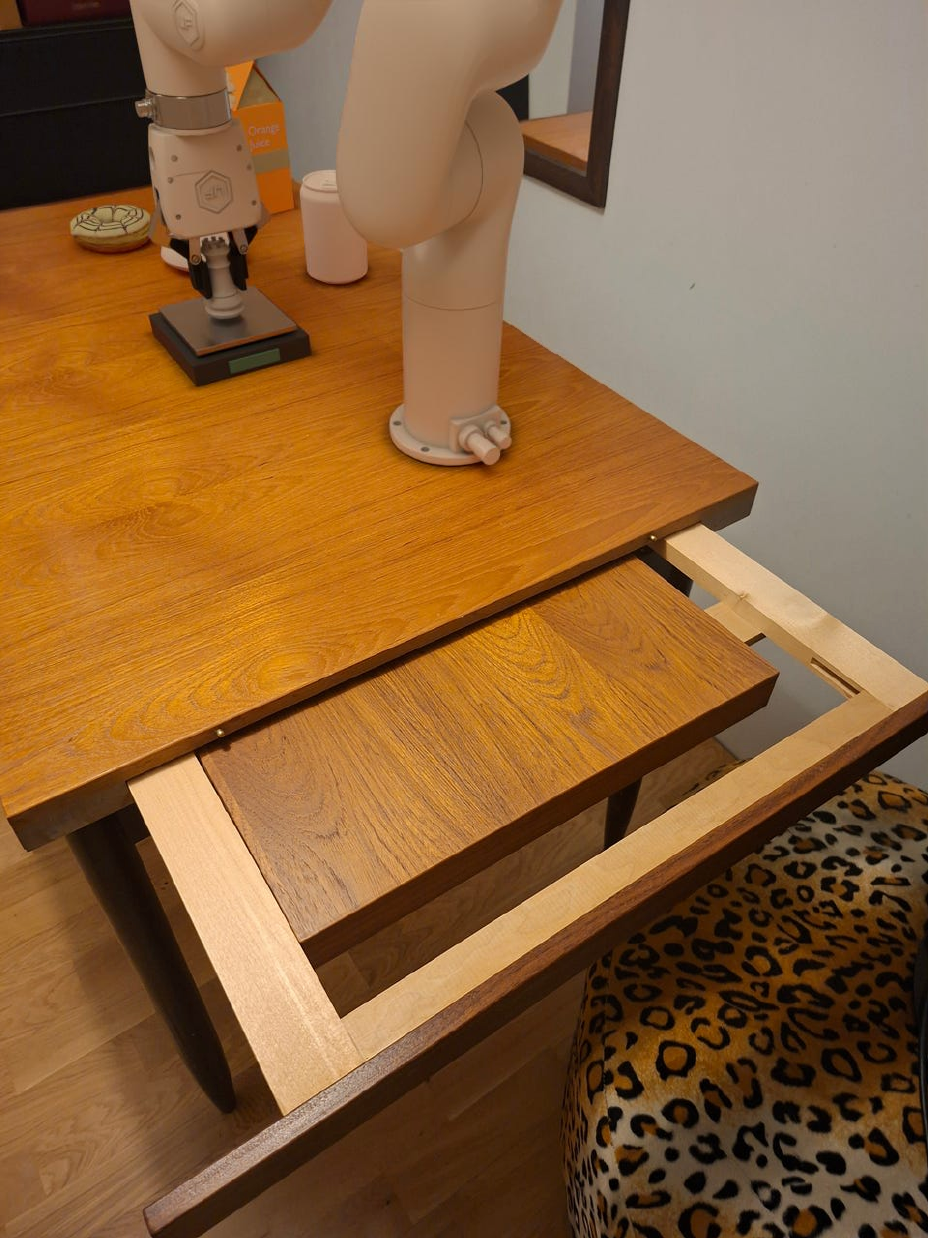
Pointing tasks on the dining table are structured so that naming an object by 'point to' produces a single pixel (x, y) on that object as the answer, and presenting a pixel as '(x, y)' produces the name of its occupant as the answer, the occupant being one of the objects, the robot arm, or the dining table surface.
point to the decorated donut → (111, 228)
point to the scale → (230, 353)
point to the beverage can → (329, 232)
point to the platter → (226, 323)
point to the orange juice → (263, 135)
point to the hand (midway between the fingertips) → (221, 288)
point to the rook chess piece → (220, 280)
